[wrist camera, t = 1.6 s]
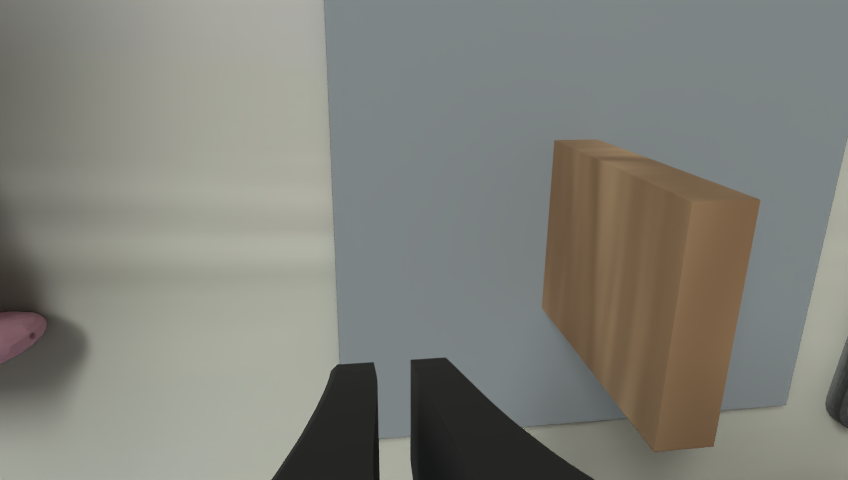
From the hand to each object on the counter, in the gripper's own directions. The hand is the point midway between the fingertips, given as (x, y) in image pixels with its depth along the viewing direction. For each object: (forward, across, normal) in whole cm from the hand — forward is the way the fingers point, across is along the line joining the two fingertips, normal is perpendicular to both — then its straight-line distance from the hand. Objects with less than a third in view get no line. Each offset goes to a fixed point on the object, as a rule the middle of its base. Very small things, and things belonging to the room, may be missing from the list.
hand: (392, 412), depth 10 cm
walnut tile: (+10, -7, 0) cm, 12 cm away
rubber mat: (+10, -8, 0) cm, 13 cm away
